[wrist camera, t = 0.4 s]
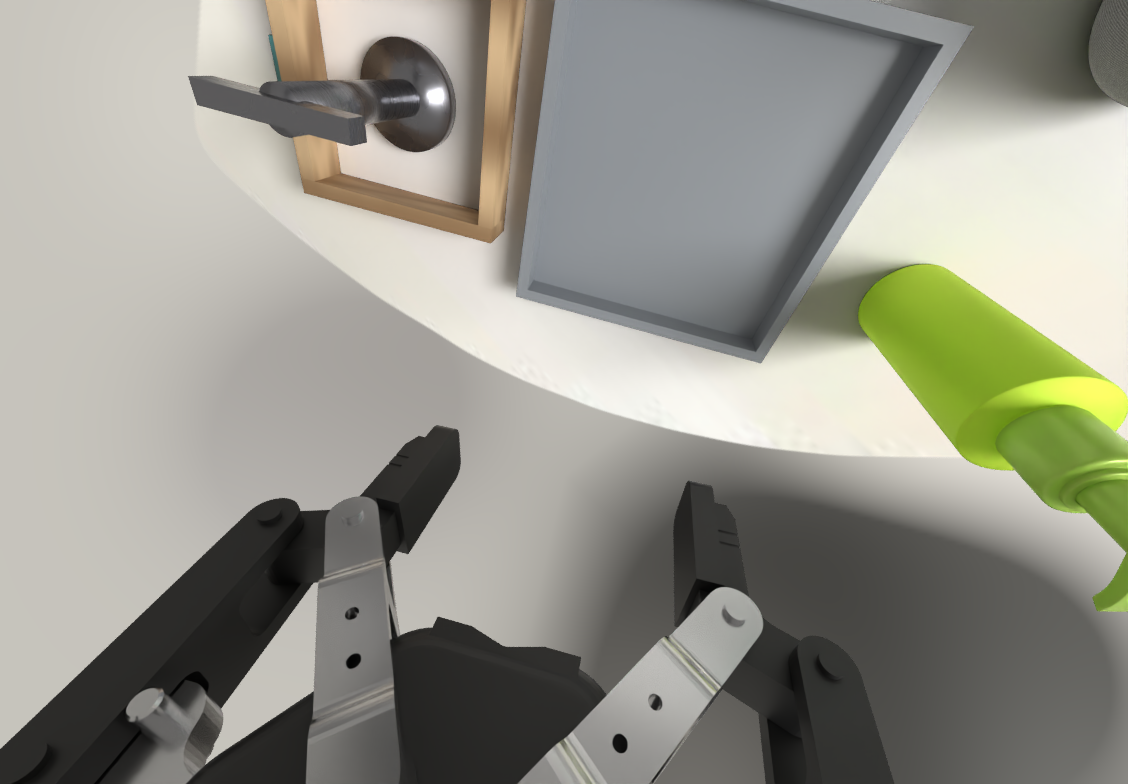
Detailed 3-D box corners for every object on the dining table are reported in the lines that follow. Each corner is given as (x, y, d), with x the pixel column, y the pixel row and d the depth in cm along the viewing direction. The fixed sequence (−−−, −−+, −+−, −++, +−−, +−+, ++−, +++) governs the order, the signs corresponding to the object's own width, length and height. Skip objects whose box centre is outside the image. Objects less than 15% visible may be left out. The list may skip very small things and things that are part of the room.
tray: (574, -63, 21) (565, -77, 19) (945, 30, 21) (974, 26, 19) (524, 283, 34) (516, 296, 32) (755, 346, 33) (760, 363, 31)
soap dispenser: (857, 358, 32) (1038, 623, 17) (858, 278, 28) (1089, 521, 13) (950, 341, 30) (1258, 627, 14) (964, 252, 26) (1393, 505, 11)
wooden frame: (261, -93, 23) (215, -112, 20) (528, -25, 22) (513, -36, 20) (312, 179, 32) (284, 187, 29) (503, 230, 31) (490, 243, 29)
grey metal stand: (356, 24, 25) (161, -7, 15) (464, 53, 25) (338, 39, 15) (367, 136, 29) (217, 168, 19) (461, 161, 29) (358, 206, 19)
